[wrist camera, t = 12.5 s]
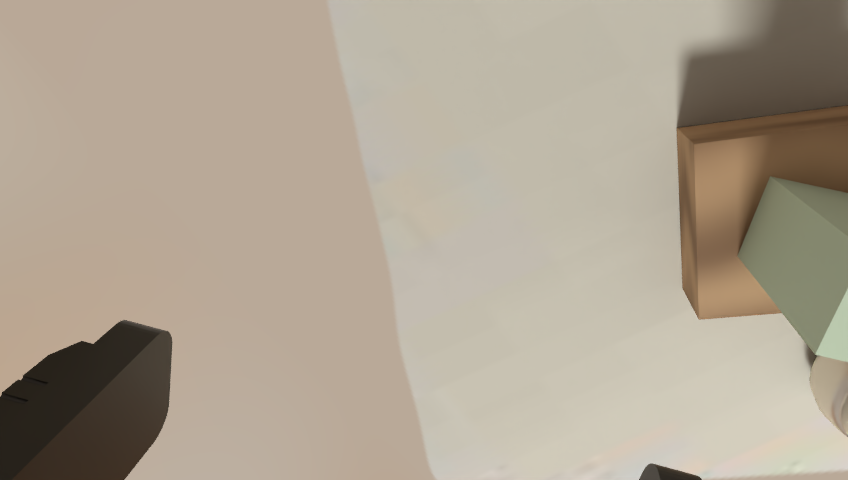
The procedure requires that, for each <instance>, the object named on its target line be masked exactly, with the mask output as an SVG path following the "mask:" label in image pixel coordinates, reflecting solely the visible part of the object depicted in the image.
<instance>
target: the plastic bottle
mask: <svg viewBox="0 0 848 480" xmlns="http://www.w3.org/2000/svg"><path fill="white" fill-rule="evenodd" d="M810 387H811V390H812V392H813V395H814V397H815V400H816V402H817V405H818V407H819V409H820V411H821V412H822V413H823V415H824V416H825V417H826V418H827V419H828V420H829V421H830V422H831V423H832V424H833V425H834V426H835V427H836V428H837V429H838V430H840V431H841V432H842V433H843V434H844V435H846V436H847V437H848V362H845V361H840V360H836V359H832V358H827V357H823V356H819V355H818V356H817V357H816V359H815V361H814V363H813V366H812V368H811V372H810Z"/></svg>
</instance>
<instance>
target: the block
mask: <svg viewBox="0 0 848 480" xmlns="http://www.w3.org/2000/svg"><path fill="white" fill-rule="evenodd" d="M738 258H739V259H740V260H741V261H742V263H743V264H744V265H745V266H746V268H747V269H748V270H749V271H750V273H751V274H752V275H753V277H754V278H755V279H756V280H757V282H758V283H759V284H760V285H761V287H762V288H763V289H764V290H765V292H766V293H767V294H768V296H769V297H770V298H771V299H772V301H773V302H774V303H775V304H776V306H777V307H778V308H779V310H780V311H781V312H782V313H783V315H784V316H785V317H786V318H787V320H788V321H789V322H790V323H791V325H792V326H793V327H794V329H795V330H796V331H797V332H798V334H799V335H800V336H801V337H802V339H803V340H804V341H805V343H806V344H807V345H808V346H809V348H810V349H811V350H812V351H813V353H814V354H815V355H819V356H823V357H827V358H832V359H836V360H840V361H845V362H848V193H845V192H841V191H836V190H831V189H827V188H822V187H817V186H813V185H808V184H804V183H799V182H794V181H790V180H785V179H780V178H776V177H771V176H770V178H769V180H768V183H767V185H766V188H765V190H764V192H763V195H762V197H761V200H760V202H759V205H758V207H757V210H756V212H755V214H754V217H753V219H752V222H751V224H750V227H749V229H748V232H747V234H746V236H745V239H744V241H743V244H742V246H741V249H740V251H739V254H738Z"/></svg>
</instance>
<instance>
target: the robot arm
mask: <svg viewBox="0 0 848 480" xmlns="http://www.w3.org/2000/svg"><path fill="white" fill-rule="evenodd" d="M171 355H172V337H171V335H170V333H169V332H168V331H164V330H161V329H156V328H153V327H149V326H145V325H142V324H138V323H134V322H131V321H127V320H123V321H121V322H119V323H117V324H116V325H115V326H114V327H112V328H111V329H110V330H109V331H108V332H107V333H106V334H104V335H103V336H102V337H101V338H100V339H99V340H97V341H96V342H95V343H94V344H91V343H87V342H84V341H81V342H78V343H76V344H74V345H71V346H69V347H67V348H64V349H62V350H59V351H57V352H55V353H52V354H50V355H48V356H47V357H46V358H44V359H43V360H42V361H41V362H39V363H38V364H37V365H36V366H34V367H33V368H32V369H31V370H29V371H28V372H27V373H26V374H24V375H23V378H22V380H17V381H16V382H15V383H13V384H12V385H11V386H10V387H9V388H7V389H6V390H5V391H3V392H2V395H1V397H0V480H124V479H125V478H126V477H127V476H128V474H129V473H130V472H131V470H132V469H133V468H134V467H135V465H136V464H137V463H138V462H139V460H140V459H141V458H142V457H143V455H144V454H145V453H146V452H147V450H148V449H149V448H150V447H151V445H152V444H153V443H154V441H155V440H156V438H157V437H158V435H159V433H160V431H161V429H162V427H163V424H164V422H165V419H166V416H167V412H168V407H169V392H170V374H171ZM639 480H702V479H701V478H700V477H699V476H696V475H693V474H689V473H685V472H682V471H678V470H674V469H670V468H667V467H663V466H659V465H656V464H649V465H647V466H646V468H645V469H644V471H643V473H642V475H641V477H640V479H639Z"/></svg>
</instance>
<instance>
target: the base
mask: <svg viewBox="0 0 848 480" xmlns="http://www.w3.org/2000/svg"><path fill="white" fill-rule="evenodd" d="M677 147H678V174H679V201H680V228H681V256H682V283H683V290H684V292H685V294H686V296H687V298H688V300H689V302H690V303H691V305H692V307H693V309H694V311H695V313H696V315H697V317H698V319H712V318H725V317H737V316H750V315H763V314H776V313H782V312H781V311H780V310H779V308H778V307H777V306H776V304H775V303H774V302H773V301H772V299H771V298H770V297H769V296H768V294H767V293H766V292H765V290H764V289H763V288H762V287H761V285H760V284H759V283H758V282H757V280H756V279H755V278H754V277H753V275H752V274H751V273H750V271H749V270H748V269H747V268H746V266H745V265H744V264H743V263H742V261H741V260H740V259H739V258H738V254H739V251H740V249H741V246H742V244H743V241H744V239H745V236H746V234H747V232H748V229H749V227H750V224H751V222H752V219H753V217H754V214H755V212H756V210H757V207H758V205H759V202H760V200H761V197H762V195H763V192H764V190H765V188H766V185H767V183H768V180H769V178H770V176H771V177H776V178H780V179H785V180H790V181H794V182H799V183H804V184H808V185H813V186H817V187H822V188H827V189H831V190H836V191H841V192H845V193H848V105H846V106H839V107H831V108H824V109H816V110H809V111H801V112H794V113H786V114H779V115H771V116H764V117H756V118H749V119H741V120H734V121H726V122H719V123H711V124H703V125H696V126H688V127H681V128H677Z"/></svg>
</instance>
